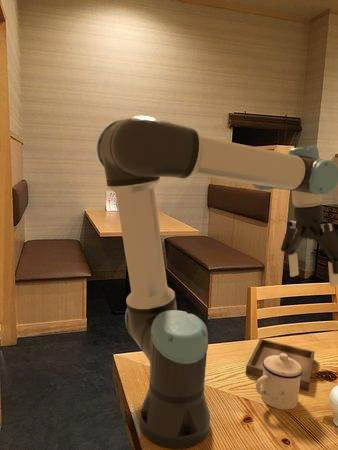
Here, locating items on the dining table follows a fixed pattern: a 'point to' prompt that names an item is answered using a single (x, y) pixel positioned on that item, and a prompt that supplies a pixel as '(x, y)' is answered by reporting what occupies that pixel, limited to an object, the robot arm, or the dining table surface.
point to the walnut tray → (274, 348)
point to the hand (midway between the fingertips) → (313, 280)
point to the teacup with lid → (280, 381)
